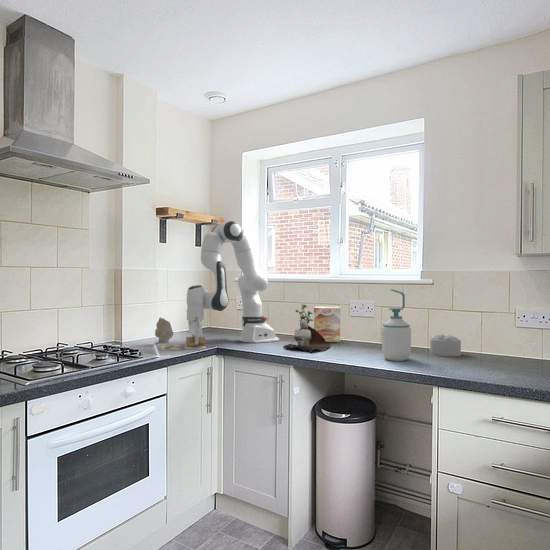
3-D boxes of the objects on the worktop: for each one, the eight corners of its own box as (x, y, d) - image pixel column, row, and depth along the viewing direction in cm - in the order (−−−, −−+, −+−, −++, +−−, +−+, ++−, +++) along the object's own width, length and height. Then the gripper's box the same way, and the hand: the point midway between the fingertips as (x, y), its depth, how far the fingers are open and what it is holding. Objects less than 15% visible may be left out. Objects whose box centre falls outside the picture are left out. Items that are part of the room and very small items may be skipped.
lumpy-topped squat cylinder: (463, 356, 194) (463, 337, 194) (435, 356, 194) (434, 337, 194) (453, 352, 205) (453, 334, 205) (426, 352, 204) (426, 334, 204)
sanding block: (203, 344, 224) (203, 336, 224) (205, 346, 219) (205, 337, 219) (186, 345, 221) (186, 337, 221) (187, 347, 216) (187, 338, 216)
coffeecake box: (313, 341, 240) (313, 307, 240) (314, 339, 247) (314, 306, 247) (340, 342, 238) (340, 307, 238) (340, 340, 245) (340, 306, 245)
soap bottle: (383, 355, 196) (383, 288, 196) (411, 357, 192) (411, 288, 192) (380, 360, 185) (379, 289, 185) (410, 362, 180) (409, 289, 180)
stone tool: (175, 344, 235) (174, 317, 235) (172, 345, 231) (171, 317, 231) (156, 343, 237) (156, 316, 237) (153, 344, 234) (153, 317, 234)
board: (202, 345, 228) (202, 343, 228) (206, 349, 216) (206, 347, 216) (160, 348, 221) (160, 345, 221) (162, 352, 209) (162, 350, 209)
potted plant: (281, 354, 215) (282, 306, 223) (304, 358, 229) (304, 313, 236) (313, 351, 203) (313, 301, 210) (335, 356, 216) (334, 308, 224)
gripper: (204, 318, 212) (205, 345, 212) (198, 314, 231) (198, 340, 231) (192, 318, 209) (192, 346, 209) (186, 315, 229) (186, 340, 229)
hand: (195, 343), depth 220 cm, fingers closed on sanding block, 5 cm apart
